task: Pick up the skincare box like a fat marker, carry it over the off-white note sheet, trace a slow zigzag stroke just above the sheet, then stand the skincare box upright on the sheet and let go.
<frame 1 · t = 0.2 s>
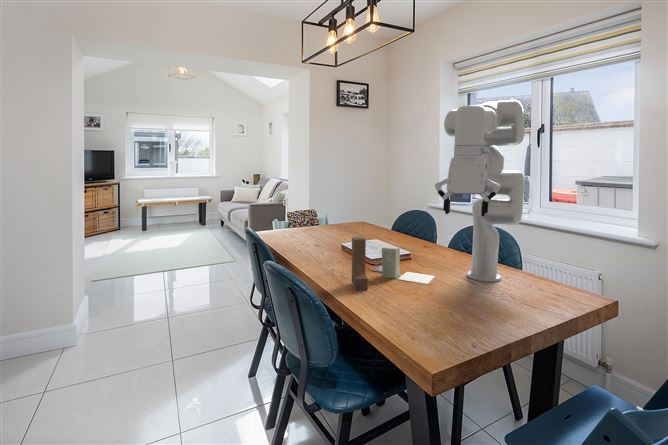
hand: (464, 214, 102), 31 cm above the table, fingers open, 9 cm apart
note sheet: (416, 278, 144), on the table
skincare box: (390, 276, 147), on the table
wooden block: (359, 287, 135), on the table
slate prompt card: (381, 269, 156), on the table
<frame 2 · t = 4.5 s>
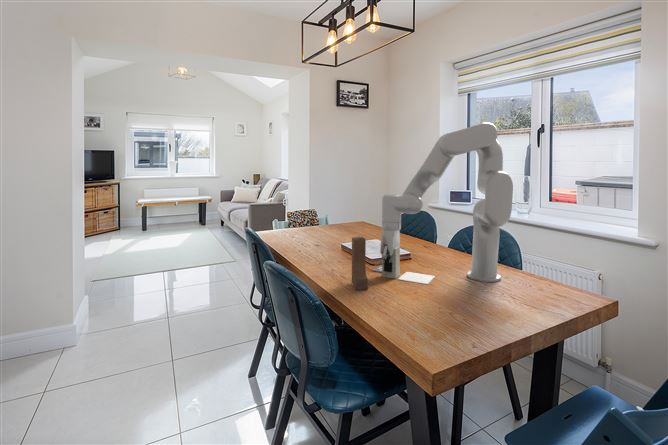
hand: (390, 269, 146), 3 cm above the table, fingers closed on skincare box, 4 cm apart
skincare box: (390, 276, 147), on the table, touching gripper
everything else where it was.
when the fingers open (4 cm above the table, at t = 12.3 s): skincare box stays where it is, resting on note sheet.
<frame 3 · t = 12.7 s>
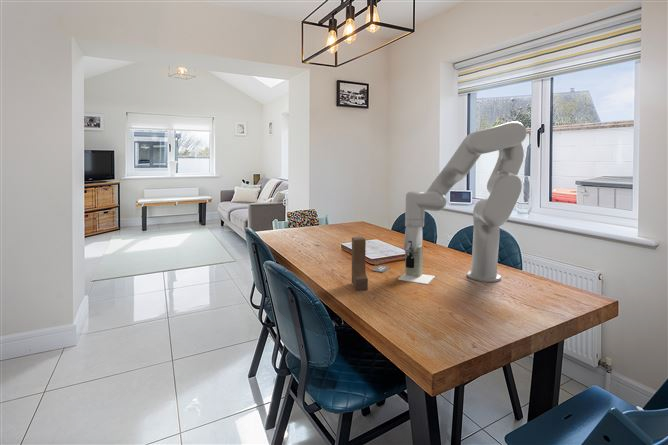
hand: (413, 264, 147), 4 cm above the table, fingers open, 8 cm apart
skincare box: (413, 274, 148), resting on note sheet
everything else where it was.
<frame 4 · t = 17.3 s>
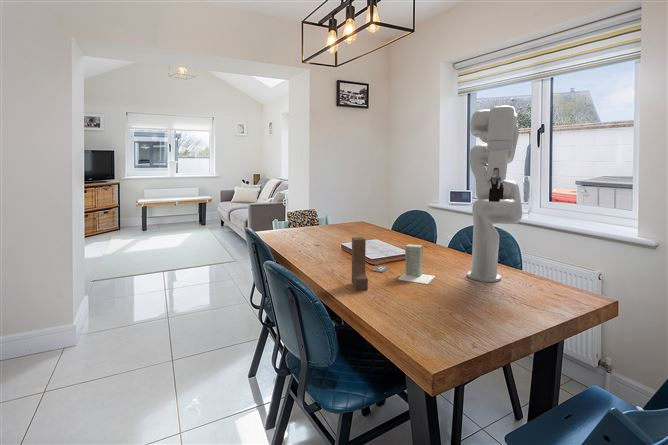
hand: (495, 200, 118), 33 cm above the table, fingers open, 9 cm apart
nothing on the table moved.
at the end: skincare box inside the target area on the note sheet (3.8 cm from its centre), point 0.1 cm above the note sheet's base; skincare box tilted 0°; the gripper is holding nothing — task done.
